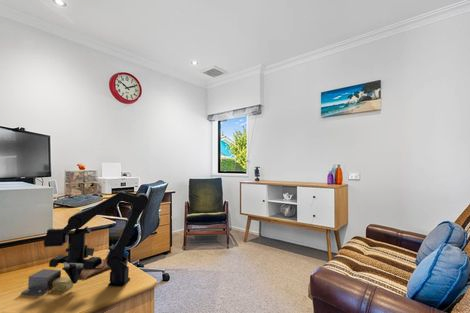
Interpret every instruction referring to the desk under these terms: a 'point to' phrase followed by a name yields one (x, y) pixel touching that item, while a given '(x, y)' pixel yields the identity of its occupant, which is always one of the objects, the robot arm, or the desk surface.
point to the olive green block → (62, 284)
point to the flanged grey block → (41, 281)
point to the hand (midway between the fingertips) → (74, 283)
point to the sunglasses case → (94, 270)
